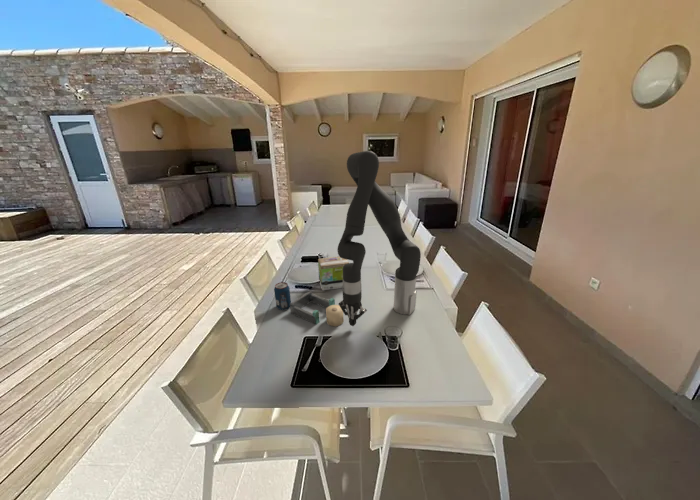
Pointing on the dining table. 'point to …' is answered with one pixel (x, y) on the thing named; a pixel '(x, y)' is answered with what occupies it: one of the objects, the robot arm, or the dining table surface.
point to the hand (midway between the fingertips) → (352, 324)
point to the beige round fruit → (334, 315)
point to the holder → (303, 301)
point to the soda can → (282, 296)
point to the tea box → (331, 272)
